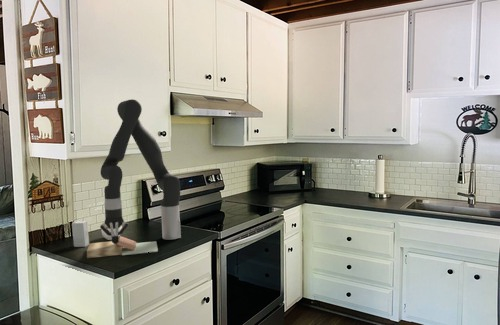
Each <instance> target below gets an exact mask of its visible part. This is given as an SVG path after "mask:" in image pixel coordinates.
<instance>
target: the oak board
mask: <svg viewBox="0 0 500 325" xmlns="http://www.w3.org/2000/svg"><path fill="white" fill-rule="evenodd" d="M122 250H123V247H122V246H119V245H118V242H117V244H114V243H112V240H109V241H100V242H92V243H91V242H89V245H88V246H87V249H86V259H91V258H101V257H109V256H110V257H113V256H119V255H120V256H122Z"/></svg>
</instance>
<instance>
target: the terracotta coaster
mask: <svg viewBox="0 0 500 325" xmlns="http://www.w3.org/2000/svg"><path fill="white" fill-rule="evenodd" d="M118 240H119V241H118V245H119V246H122V247H125V248H128V249H131V250H133V251H134V250H135V247H136V243H137V241H135V240H132V239H129V238H127V237H124V236H121V235H120V236H119V237H118Z"/></svg>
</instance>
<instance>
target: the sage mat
mask: <svg viewBox="0 0 500 325" xmlns="http://www.w3.org/2000/svg"><path fill="white" fill-rule="evenodd" d="M158 251H159V248H158V244H157V241H145V242H136V247H135V250H134V251H133V250H131V249H128V248H125V247H123V250H122V254H121V256H127V255H138V254H149V253H157V252H158ZM148 252H149V253H148Z"/></svg>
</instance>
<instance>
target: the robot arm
mask: <svg viewBox="0 0 500 325" xmlns="http://www.w3.org/2000/svg"><path fill="white" fill-rule="evenodd" d="M116 109H117V114H118V117H120V119H121V120H122V122H121V125H120V127H119V129H118V131H117V133H116V134H115V136H114V138H112V139H113V140H112V141H111V145H110V148H109V152H108V154H107V157H105V159H104V162H103V163H102V165H101V168H100V176H101V178H103V179H104V180H108V183H107V185H106V186H105V187H104V207H103V208H104V216H105V219H104V222H103V223H104V224H103V223H101V224H102V225H101V224H100V227H99V228H100V230H101V229H102V230H103V231H104V232H105V233H106V234H107V235H108V236H109V235H110V236H112V240H111V241H112V243H114V244H117V242H118V241H119V237H118V235H120V234H121V235H122V234H123V232H125V230H126V228H127V227H128V225H129V222H126V221H125V220H124V218H123V205H122V204H123V203H122V198H121V197H122V195H121V187H122V181H123V171H122V168H121V167H120V166H119V165H118V164H119V163H120V162H122V161H123V160H124V159H125V155H126V151H127V148H128V145H129V143H130V139H131V136H132V138H133V140H134V142H135V143H136V145H137V149H139V151H140V153H141V155H142V156H143V159H144V160H145V162H146V164H147V165H148V167H149V169H150V170H151V172H152V174H153V177H154V179H155V182H156V184H157V186H158V188H159V189H160V190H161V191H163V196H162V197H163V198H162V199H161V200H160V211H161V212H160V213H161V231H162V232H161V234H162V239H163V240H169V241H170V240H171V241H172V240H177V239H181V238H182V235H181V234H182V231H181V220H180V219H181V218H180V217H181V216H180V200H181V181H180V179H179V177H178V176H177V175H173V174H171V173H170V172H169V170H168V169H167V167H166V165H165V164H164V160H163V155H162V149H161V147H160V145H159V144H158V142H157V140H156V139H155V137H154V136H153V135H152V133H150V131H149V130H147V129H146V128H145V126H144V125H143V124H142V122H141V120H140V116H141V114H142V111H143V110H142V109H143V108H142V104H141V103H140V102H139V101H138V100H137V99H133V98H132V99H126V100H123V101H121V102H120V103H119V104H118V105H117V108H116ZM106 225H107V226H108V228H109V229H111V232H109V230H108V229H107V228H106ZM121 225H122V229H121V230H120V231H119V232H118V228H119V227H120V226H121ZM114 229H115V234H114ZM121 235H120V236H121Z"/></svg>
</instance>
